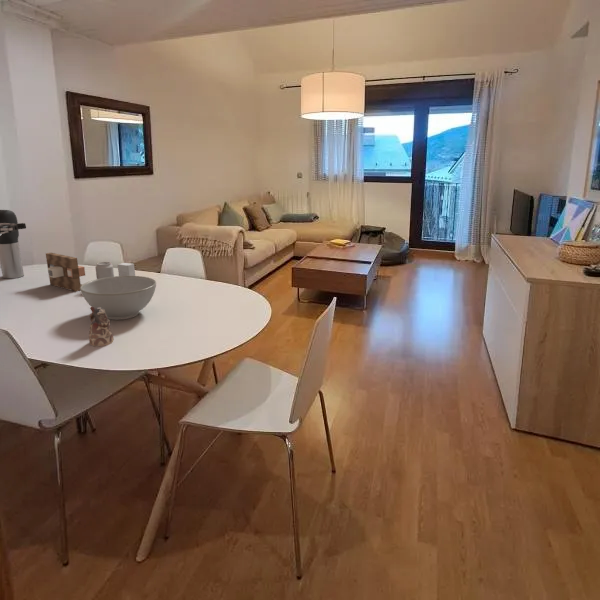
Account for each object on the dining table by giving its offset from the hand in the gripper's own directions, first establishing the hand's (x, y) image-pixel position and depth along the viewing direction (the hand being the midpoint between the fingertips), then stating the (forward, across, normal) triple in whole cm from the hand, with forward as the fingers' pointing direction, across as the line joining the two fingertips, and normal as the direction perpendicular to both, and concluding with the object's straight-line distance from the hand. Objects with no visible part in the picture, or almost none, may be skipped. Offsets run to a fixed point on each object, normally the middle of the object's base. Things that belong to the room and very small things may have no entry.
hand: (24, 225), depth 191 cm
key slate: (+15, -7, -24) cm, 29 cm away
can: (+23, +17, -30) cm, 42 cm away
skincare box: (+28, +27, -30) cm, 49 cm away
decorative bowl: (+4, +55, -30) cm, 63 cm away
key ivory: (+10, 0, -24) cm, 26 cm away
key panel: (+15, 0, -30) cm, 34 cm away
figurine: (-18, +74, -30) cm, 81 cm away
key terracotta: (+15, +7, -24) cm, 29 cm away
